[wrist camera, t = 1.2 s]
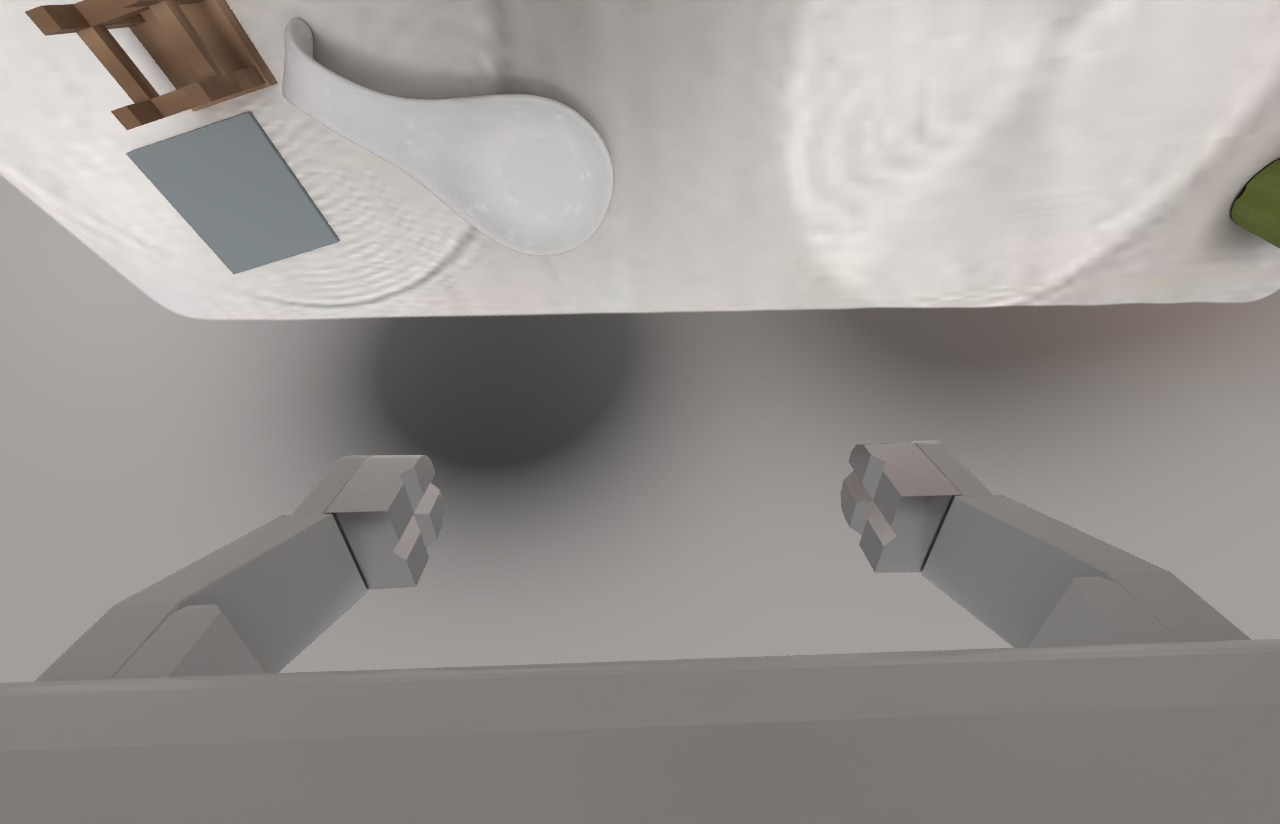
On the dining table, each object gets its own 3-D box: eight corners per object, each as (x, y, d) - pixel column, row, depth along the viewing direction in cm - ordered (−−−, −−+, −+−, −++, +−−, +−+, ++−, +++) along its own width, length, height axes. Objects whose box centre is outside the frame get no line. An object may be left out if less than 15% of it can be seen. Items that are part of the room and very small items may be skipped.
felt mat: (129, 152, 36) (126, 153, 36) (250, 111, 35) (247, 112, 35) (236, 272, 43) (233, 274, 42) (339, 240, 42) (338, 242, 42)
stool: (124, 3, 31) (17, 8, 25) (208, -28, 31) (120, -30, 24) (202, 108, 35) (127, 134, 29) (278, 82, 35) (217, 104, 28)
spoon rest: (633, 131, 39) (644, 155, 34) (580, 258, 46) (582, 294, 41) (298, -45, 31) (243, -51, 25) (292, 143, 37) (247, 170, 32)
